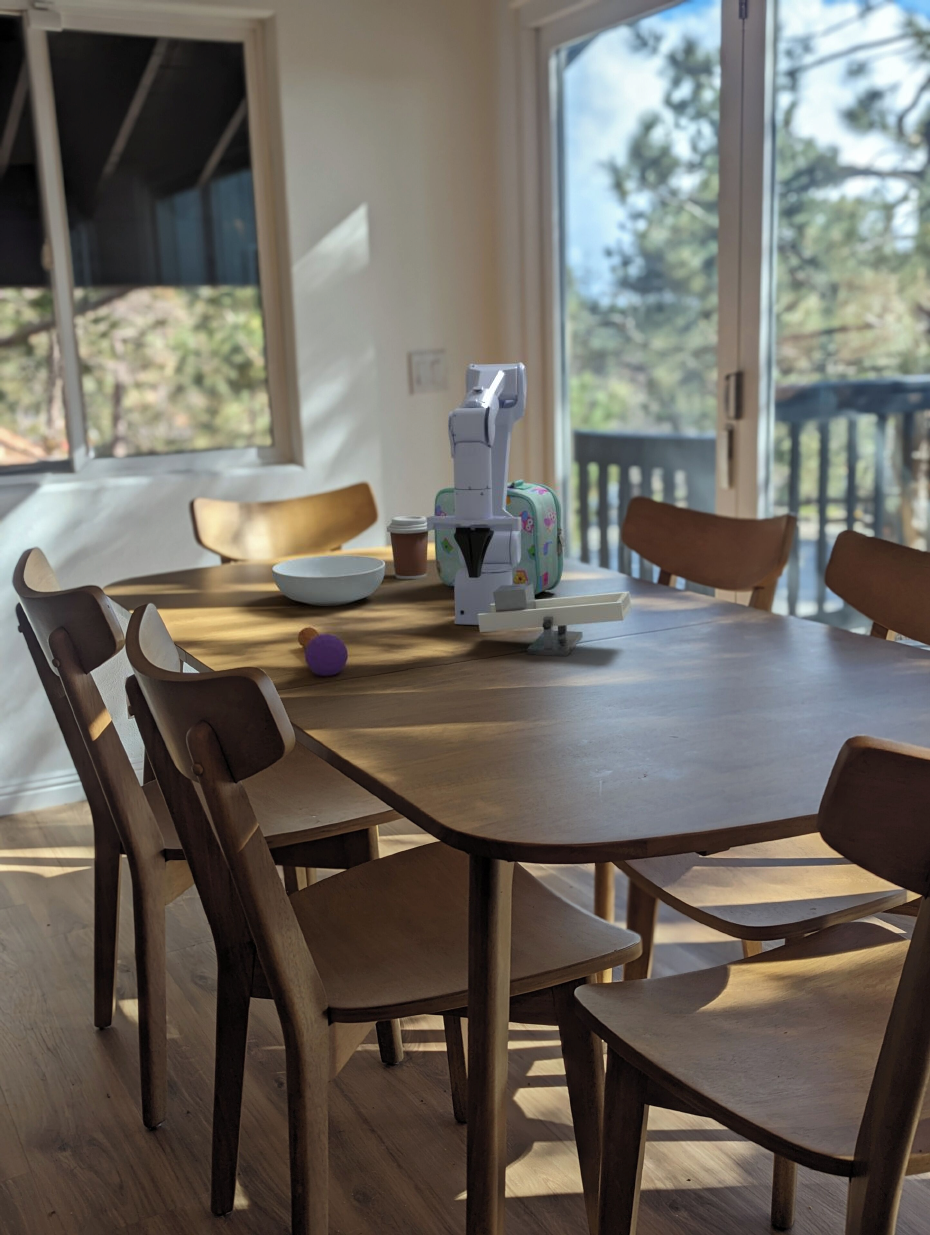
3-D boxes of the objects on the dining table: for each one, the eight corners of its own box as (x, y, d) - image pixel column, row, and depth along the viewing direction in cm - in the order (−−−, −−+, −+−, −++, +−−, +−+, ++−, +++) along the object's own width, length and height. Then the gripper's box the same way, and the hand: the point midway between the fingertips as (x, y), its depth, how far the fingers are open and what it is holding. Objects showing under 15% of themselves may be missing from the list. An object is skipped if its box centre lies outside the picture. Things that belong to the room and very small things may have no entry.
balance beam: (480, 632, 173) (477, 614, 173) (493, 620, 181) (491, 603, 180) (623, 620, 167) (621, 602, 166) (631, 608, 174) (629, 591, 174)
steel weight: (497, 620, 174) (493, 592, 173) (505, 613, 178) (501, 585, 178) (528, 618, 172) (524, 589, 171) (536, 611, 177) (532, 582, 176)
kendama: (329, 620, 179) (353, 639, 160) (325, 658, 179) (348, 681, 160) (291, 617, 177) (311, 635, 158) (287, 654, 177) (306, 677, 158)
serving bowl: (252, 609, 206) (249, 572, 205) (309, 587, 225) (307, 553, 223) (354, 616, 198) (352, 577, 197) (405, 592, 217) (404, 557, 216)
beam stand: (527, 654, 170) (526, 618, 169) (545, 634, 181) (544, 601, 180) (566, 656, 168) (566, 619, 167) (582, 636, 179) (582, 602, 178)
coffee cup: (379, 578, 232) (377, 519, 229) (405, 570, 239) (402, 514, 236) (417, 582, 227) (414, 522, 224) (441, 574, 234) (439, 516, 232)
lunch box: (574, 593, 212) (574, 478, 207) (541, 603, 204) (540, 484, 199) (464, 579, 229) (461, 472, 224) (430, 587, 221) (426, 477, 216)
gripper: (419, 490, 171) (421, 579, 174) (512, 490, 167) (514, 582, 170) (433, 486, 178) (436, 572, 180) (524, 486, 173) (525, 574, 176)
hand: (474, 576), depth 175 cm, fingers closed
